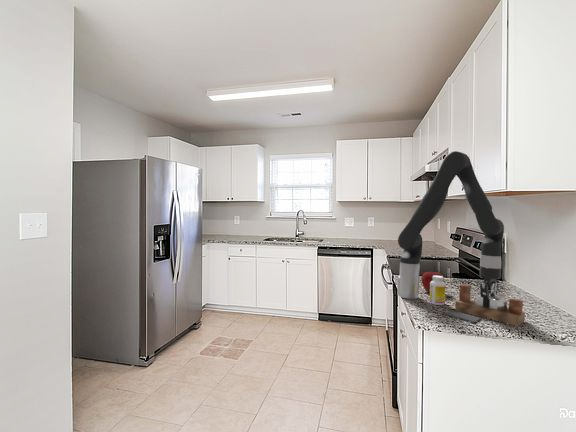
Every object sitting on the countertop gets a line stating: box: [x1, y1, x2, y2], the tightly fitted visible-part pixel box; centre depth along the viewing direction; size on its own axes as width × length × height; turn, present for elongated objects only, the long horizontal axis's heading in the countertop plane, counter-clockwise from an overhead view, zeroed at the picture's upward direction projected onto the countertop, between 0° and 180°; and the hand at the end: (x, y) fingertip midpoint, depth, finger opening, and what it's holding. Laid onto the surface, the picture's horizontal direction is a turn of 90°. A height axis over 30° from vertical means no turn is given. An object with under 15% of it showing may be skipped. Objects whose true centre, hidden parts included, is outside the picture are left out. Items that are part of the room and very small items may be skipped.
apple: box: [420, 271, 445, 294], centre depth 167 cm, size 11×11×12 cm
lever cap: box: [475, 293, 509, 311], centre depth 132 cm, size 11×5×4 cm, turn 39°
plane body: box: [454, 283, 526, 327], centre depth 133 cm, size 23×9×11 cm, turn 39°
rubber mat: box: [443, 309, 482, 323], centre depth 131 cm, size 12×7×1 cm, turn 39°
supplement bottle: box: [429, 275, 446, 306], centre depth 148 cm, size 7×7×13 cm
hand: (488, 305), depth 133 cm, fingers closed on lever cap, 5 cm apart
